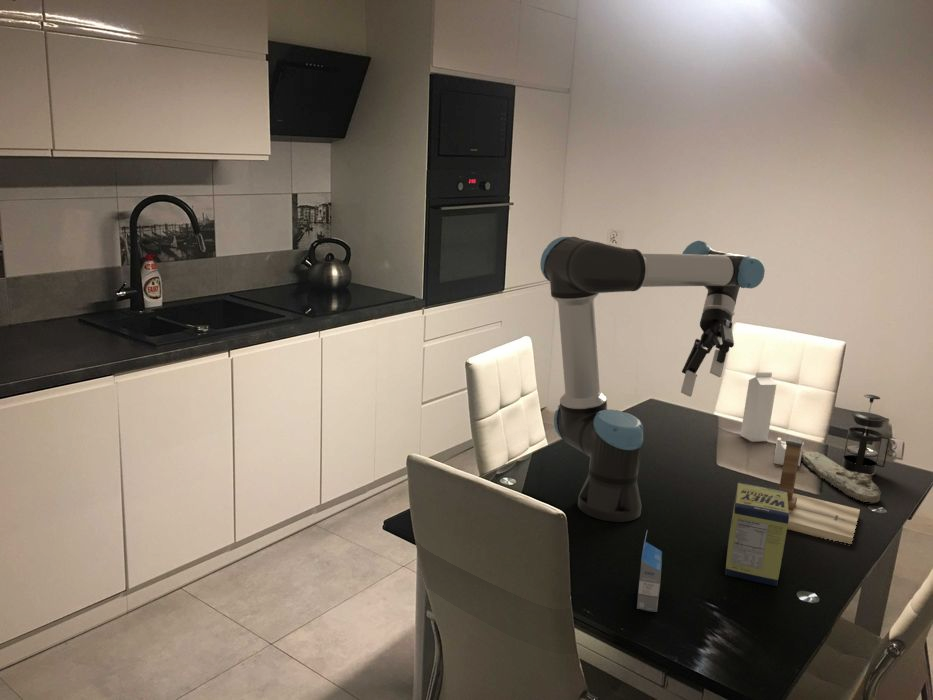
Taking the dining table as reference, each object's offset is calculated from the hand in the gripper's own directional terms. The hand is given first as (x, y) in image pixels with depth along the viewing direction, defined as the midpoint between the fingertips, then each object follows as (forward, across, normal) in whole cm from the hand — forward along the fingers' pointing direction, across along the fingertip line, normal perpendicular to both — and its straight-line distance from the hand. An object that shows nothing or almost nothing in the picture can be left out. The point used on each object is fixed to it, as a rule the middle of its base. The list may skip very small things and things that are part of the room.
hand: (700, 384), depth 196 cm
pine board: (+17, +6, -38) cm, 43 cm away
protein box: (+41, -8, -17) cm, 45 cm away
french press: (-16, +28, -67) cm, 74 cm away
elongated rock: (-7, +24, -57) cm, 63 cm away
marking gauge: (+16, +9, -33) cm, 37 cm away
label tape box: (+60, -16, +7) cm, 62 cm away
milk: (-25, +53, -46) cm, 74 cm away
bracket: (-14, +38, -50) cm, 64 cm away
